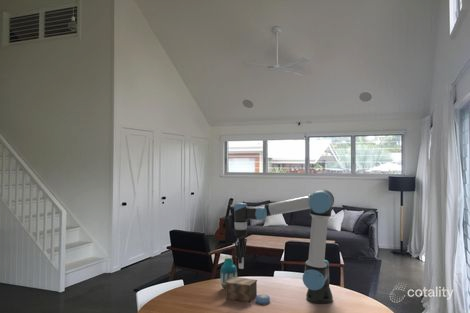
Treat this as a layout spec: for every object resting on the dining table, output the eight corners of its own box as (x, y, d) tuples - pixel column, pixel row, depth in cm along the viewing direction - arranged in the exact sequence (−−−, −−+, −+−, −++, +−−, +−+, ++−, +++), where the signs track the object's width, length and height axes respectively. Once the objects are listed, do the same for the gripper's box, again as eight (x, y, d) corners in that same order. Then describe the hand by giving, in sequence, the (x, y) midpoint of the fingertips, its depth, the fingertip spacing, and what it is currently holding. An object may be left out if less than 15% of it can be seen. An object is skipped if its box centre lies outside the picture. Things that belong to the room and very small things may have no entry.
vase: (224, 292, 227) (223, 261, 227) (218, 287, 236) (218, 258, 237) (239, 290, 230) (239, 260, 231) (233, 285, 240) (233, 256, 241)
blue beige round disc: (271, 300, 212) (271, 295, 212) (266, 305, 205) (266, 299, 205) (259, 298, 216) (258, 293, 216) (253, 303, 209) (253, 297, 209)
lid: (257, 283, 219) (257, 279, 219) (248, 289, 208) (248, 285, 208) (233, 280, 226) (233, 276, 226) (224, 286, 215) (224, 282, 215)
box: (256, 296, 219) (256, 281, 220) (249, 302, 209) (249, 286, 210) (234, 293, 226) (234, 278, 226) (226, 298, 216) (226, 283, 216)
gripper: (239, 226, 227) (240, 265, 226) (230, 230, 215) (230, 270, 214) (250, 227, 223) (251, 266, 222) (241, 230, 212) (242, 271, 211)
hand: (241, 268), depth 218 cm, fingers closed
